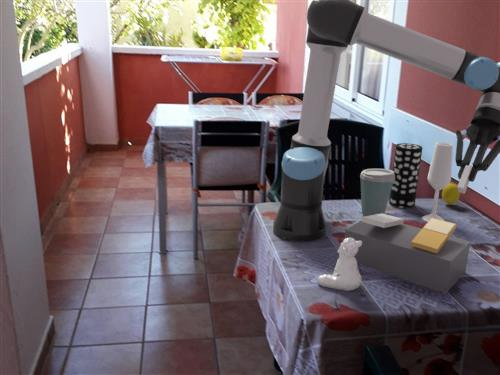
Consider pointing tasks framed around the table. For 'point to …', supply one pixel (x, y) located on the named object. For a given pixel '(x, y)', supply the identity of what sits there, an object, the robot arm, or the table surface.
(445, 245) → the switch box
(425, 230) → the amber rocker
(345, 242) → the white creature statuette
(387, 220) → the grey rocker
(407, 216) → the table surface
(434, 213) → the champagne flute
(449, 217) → the table surface
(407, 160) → the spotted tube
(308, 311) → the table surface
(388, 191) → the disposable coffee cup
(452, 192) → the lemon
